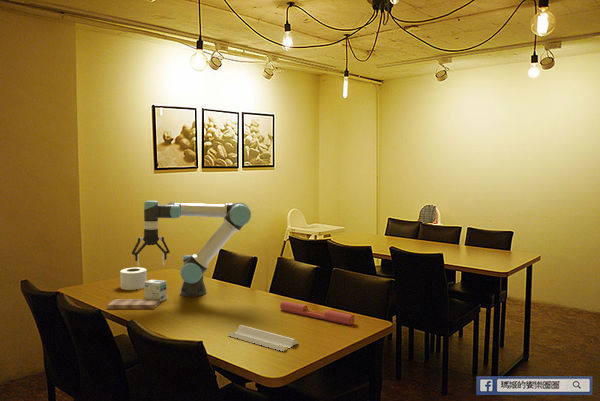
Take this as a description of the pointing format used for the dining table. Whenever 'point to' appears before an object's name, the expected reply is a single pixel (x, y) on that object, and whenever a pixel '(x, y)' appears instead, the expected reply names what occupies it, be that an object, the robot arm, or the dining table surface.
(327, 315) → the blood vessel
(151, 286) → the light bulb box
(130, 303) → the walnut board
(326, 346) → the dining table surface
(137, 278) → the toilet paper roll
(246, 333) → the crown molding
